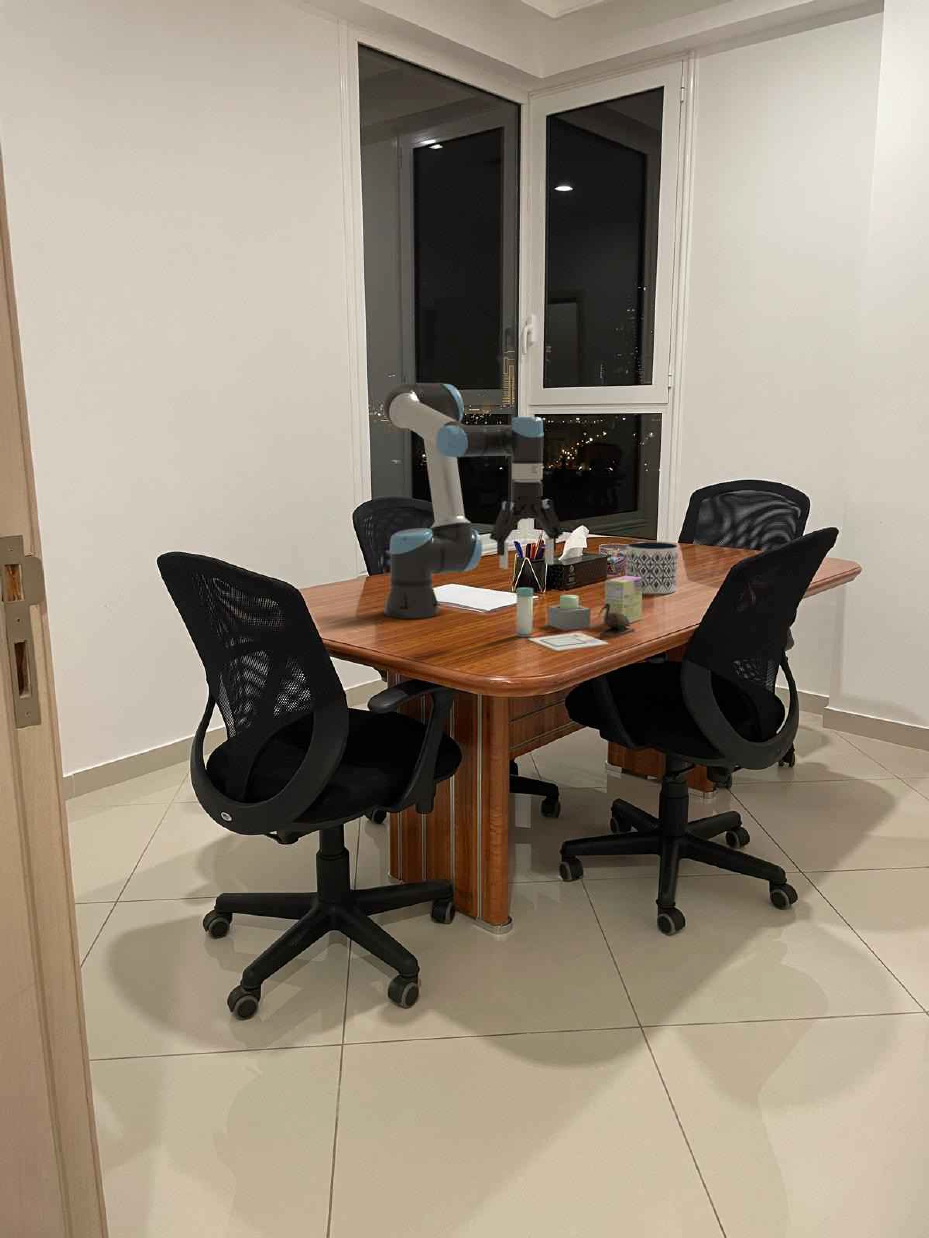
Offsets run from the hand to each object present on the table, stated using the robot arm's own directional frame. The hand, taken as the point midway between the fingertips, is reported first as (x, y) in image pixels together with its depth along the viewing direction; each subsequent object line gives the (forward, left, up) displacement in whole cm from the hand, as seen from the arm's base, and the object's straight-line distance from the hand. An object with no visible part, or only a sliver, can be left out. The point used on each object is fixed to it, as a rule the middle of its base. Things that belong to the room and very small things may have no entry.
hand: (526, 566), depth 240 cm
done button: (+15, +2, -15) cm, 21 cm away
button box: (+15, +2, -17) cm, 23 cm away
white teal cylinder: (-1, -2, -17) cm, 18 cm away
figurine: (+19, -11, -18) cm, 28 cm away
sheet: (+5, -13, -17) cm, 22 cm away
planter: (+67, +34, -18) cm, 77 cm away
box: (+31, 0, -18) cm, 35 cm away
